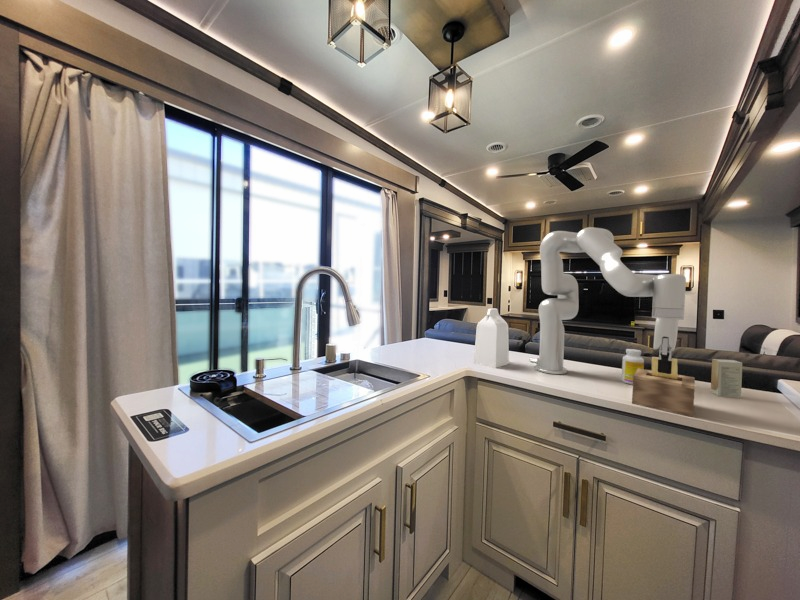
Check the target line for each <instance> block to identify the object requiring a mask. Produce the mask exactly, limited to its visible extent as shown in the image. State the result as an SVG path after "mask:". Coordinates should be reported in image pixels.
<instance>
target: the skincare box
mask: <svg viewBox="0 0 800 600" xmlns="http://www.w3.org/2000/svg"><path fill="white" fill-rule="evenodd" d="M710 377H711V378H710V379H711V380H710V393H712V394H714V395H715V396H717V397H723V398H737V399H741V398H742V383H743V382H742V379H743V362H742V361H737V360H736V359H735V360H734V359H722V358H721V359H720V358H719V359H718V358H712V360H711V376H710Z"/></svg>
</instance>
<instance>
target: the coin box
mask: <svg viewBox="0 0 800 600" xmlns="http://www.w3.org/2000/svg"><path fill="white" fill-rule="evenodd" d="M695 379H696V378H695V377H694V376H688V375H684V374H683V375H682V374H678V379H677V380H674V379H666V378H661V377H655V376H652V369H646V368H645V369H639V368H638V370H637V371H636V372H635V374H634V375H633V385H632V396H631V397H632V398H631V404H632V405H636V406H640V407H641V406H642V407H646V408H651V409H655V410H659V411H660V410H661V411H664V412H669V413H673V414H677V415H681V416H685V417H691V418H693V417H694V405H695V391H696V390H695V388H696V382H695V381H696V380H695Z"/></svg>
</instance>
